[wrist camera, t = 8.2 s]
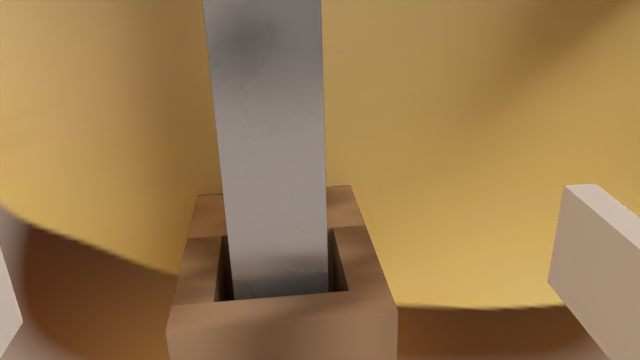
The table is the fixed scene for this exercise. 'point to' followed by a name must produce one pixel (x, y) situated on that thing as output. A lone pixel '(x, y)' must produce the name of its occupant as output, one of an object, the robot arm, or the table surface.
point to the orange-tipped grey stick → (270, 142)
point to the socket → (283, 298)
